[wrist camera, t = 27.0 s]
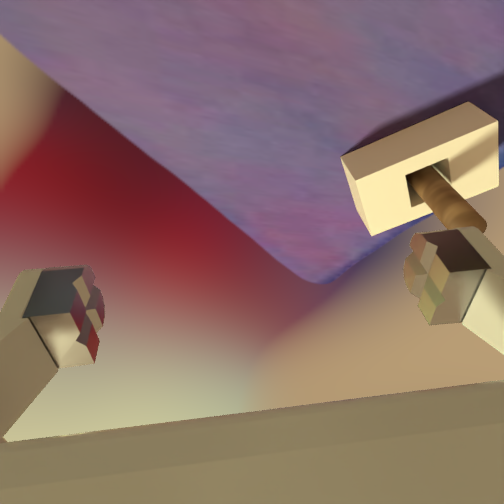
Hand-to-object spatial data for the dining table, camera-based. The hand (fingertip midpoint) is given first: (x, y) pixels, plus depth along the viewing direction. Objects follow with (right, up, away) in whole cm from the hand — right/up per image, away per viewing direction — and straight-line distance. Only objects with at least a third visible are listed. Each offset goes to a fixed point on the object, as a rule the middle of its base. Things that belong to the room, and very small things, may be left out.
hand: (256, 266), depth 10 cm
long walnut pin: (+20, +12, +42) cm, 48 cm away
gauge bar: (+20, +12, +42) cm, 48 cm away
